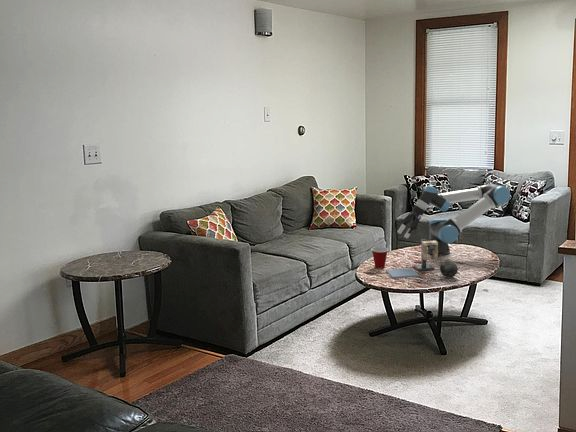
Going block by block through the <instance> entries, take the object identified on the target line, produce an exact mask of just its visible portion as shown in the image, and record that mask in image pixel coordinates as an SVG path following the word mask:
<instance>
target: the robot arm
mask: <svg viewBox="0 0 576 432" xmlns="http://www.w3.org/2000/svg"><path fill="white" fill-rule="evenodd" d="M510 199H511V192H510V189H508V188H507V187H506V186H504V185H500V184H496V183H489V184H483V185H478V186H476V187H474V188H470V189H469V188H468V189H462V190H454V191H448V192H441V193H438V189H436V187H434V186H432V185H429V184H428V185H426V187H425V188H424V190H423V192H422V194H421V195H420V196H419V198H418V199H417V200H416V203H415V205H414V206H413V207H412V209H411V210H412V211H410V212H409V213H408V214H407V215H406V217H404V219H403V220H402V221H401V225H400V226H399V228H398V229H397V231H396V232H397V234H399V235H401V234H402V233H403V231H404V229H406V227H407V225H408V224H409V223H411V224H410V226H408V227H409V228H408V229H407V230H406V232H405V233H404V236H403V237H404V238H405V239H409V237H410V236H411V235H412V233H413V231H415V230H417V228H418V225H419V223H420V220H421V219H422V217H421V216H423V215H424V213H425V212H426V211H427V209H428V208H429V206H433V207H435V208H437V209H439V210H440V211H442V212H447V211H448V210H449V208H450V207H451V204H455V203H461V202H468V201H473V200H477V201H475V203H473V204H471V206H469V207H468V208H466V209H465V210H464V211H463V212H461V213H460V214H459V215H457V216H456V217H454V218H449V219H447V218H436V219H435V218H434V219H433V218H432V219H431V220H429V224H428V225H429V241H437V242H438V256H445V255H450V253H451V248H450V246H449V244H452V243H454V242H455V241H456V240H457V239H458V238H459V235H461V234H462V230H464V229H465V228H466V227H468V226H469V225H470V224H472V223H473V222H474V221H476V220H477V219H479V218H480V217H481V216H482V215H484V214H485V213H486V212H488V211H489V210H491V209H496V208H497V207H499V206H502V205H505V204H507V203H508V202H509V200H510ZM428 254H429V255H432V256H433V250H431V249H430V248H428V247H427V255H428Z"/></svg>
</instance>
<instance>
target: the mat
mask: <svg viewBox="0 0 576 432" xmlns="http://www.w3.org/2000/svg"><path fill="white" fill-rule="evenodd" d="M385 272H386V273H387V275H389V276H390V277H391V279H405V278H407V279H408V278H418V277H419V278H420V274H419V273H418V272H416V271H415V270H414V269H413V268H412V267H410V268H394V269H393V268H392V269H385Z"/></svg>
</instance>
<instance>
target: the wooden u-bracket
mask: <svg viewBox="0 0 576 432" xmlns="http://www.w3.org/2000/svg"><path fill="white" fill-rule="evenodd" d="M427 245H433V246H434V247H435V249H434V250H433V255H432V258H433V259H434V260H435V261H437V260H439V255H438V242H437V241H430V240H426V241H422V259H423V260H426V261H428V253H427V248H428V247H427Z"/></svg>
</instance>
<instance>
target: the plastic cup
mask: <svg viewBox="0 0 576 432" xmlns="http://www.w3.org/2000/svg"><path fill="white" fill-rule="evenodd" d="M371 251H372V252H371V253H372V257H373V262H374V267H375V268H376V269H384V268H385V266H386V261H387V255H388V253H389V252H388V251H389V248H387V247H384V246H374V247H371Z"/></svg>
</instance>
